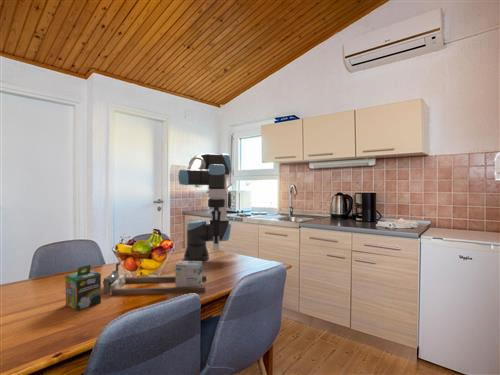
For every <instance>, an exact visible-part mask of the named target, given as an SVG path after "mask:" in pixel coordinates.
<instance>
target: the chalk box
mask: <svg viewBox="0 0 500 375" xmlns="http://www.w3.org/2000/svg"><path fill="white" fill-rule="evenodd" d="M91 268H92V266H91V264H88V265H83V266H80V267H78V268H77V271H76V272H74V273H70V274H67V275H66V274H65V276H64V278H65V281H64V282H65V305H66V306H67V307H69V308H70V309H73V310H75V311H77V312H78V311H80V310H83V309H87V308H89V307H92V306H95V305H99V304H101V303H102V296H101V295H102V293H101V292H102V280H101V279H102V278H101V277H102V276H101V275H102V273H100V272H97V271H95V270H92V269H91Z"/></svg>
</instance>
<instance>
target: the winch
mask: <svg viewBox="0 0 500 375" xmlns="http://www.w3.org/2000/svg"><path fill="white" fill-rule="evenodd" d="M120 265H121V262H117V263H116V264H115V270H112V273H110V274H109V275H108V276H107V277H105V278H103V281H102V285H103V294H109V293H110V285H111V284H113V283H114V282H115V281H116V280H117V279H118V278H119V277H120V274H119V266H120Z"/></svg>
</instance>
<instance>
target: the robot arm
mask: <svg viewBox="0 0 500 375" xmlns="http://www.w3.org/2000/svg"><path fill="white" fill-rule="evenodd" d="M230 157H231V156H230V154H228V153H219V152H218V153H213V152H211V153H208V152H205V153H204V152H203V153H200V154H197V155H195V156H193V157H192V158H191V159H190V161H189V163H188V167H187V168H186V169H185V168H184V169H179V171H178V178H177V179H178V183H179V185H180V186H208V188H207V189H208V190H207V191H206V193H207V194H208V195H207V197H208V199H207V206H208V208H212V211H211V218H210V219H209V222H208V221H207V220H206V219H198V220H191V221H189V222H188V223H187V226H186V227H187V228H186V248H185V251H184V255H183V261H202V262H204V261H207V260H209V259H210V254H209V250H208V247H207V242H212V252H213V251H215V252H219V251H220V242H227V241H229V239H230V234H231V228H232V222H230V219H229V218H228V217H227V204H228V203H227V201H228V199H227V197H228V196H227V195H228V194H227V193H228V192H227V188H228V186H227V185H228V183H227V181H228V177H229V176H230V174H231V173H232V163H231V158H230Z"/></svg>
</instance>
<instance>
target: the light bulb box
mask: <svg viewBox="0 0 500 375" xmlns="http://www.w3.org/2000/svg"><path fill="white" fill-rule="evenodd" d="M174 270H175V271H174V272H175V275H174V276H175V277H176V278H175V281H174V282H175V285H174V287H195V286H202V285H203V281H202V276H203V261H186V260H179V261H178V262H177V263H175V269H174Z"/></svg>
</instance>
